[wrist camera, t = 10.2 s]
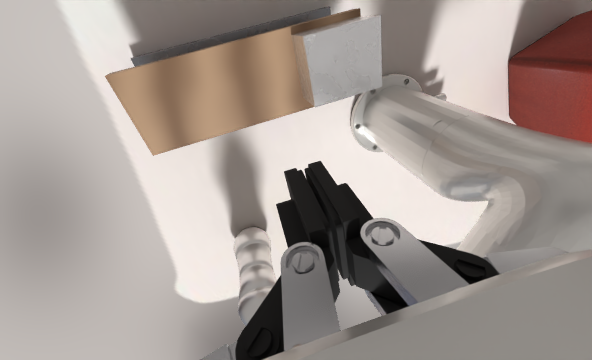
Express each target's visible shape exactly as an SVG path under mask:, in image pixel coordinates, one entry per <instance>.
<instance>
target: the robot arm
mask: <svg viewBox="0 0 592 360" xmlns="http://www.w3.org/2000/svg"><path fill="white" fill-rule="evenodd" d="M370 91H371V92H370ZM370 91H367V92H363V93H361V95H360V96H359V97H358V99H357V101H356V103H355V105H354V108H353V111H352V116H351V129H352V133H353V136H354V138H355V139H356V141H357V142H358V143H359V144H360V145H361V146H362V147H363V148H365V149H367V150H369V151H372V152H385V153H387V154H388V155H389V156H390V157H392V158H393V159H394V160H395V161H397V162H398V163H399V164H401V165H402V166H403V167H404V168H406V169H407V170H408V171H409V172H411V173H412V174H413V175H415V176H416V177H417V178H418V179H420V180H421V181H422V182H423V183H425V184H426V185H427V186H429V187H430V188H431V189H433V190H434V191H435V192H437V193H438V194H440V195H441V196H443V197H446V198H448V199H452V200H456V201H464V202H477V201H489V202H488V205H487V207H486V209H485V210H484V212H483V213H482V215H481V216H480V219H479V220H478V221H477V223H476V224H475V225H474V227H473V228H472V229H471V230H470V232H469V233H468V234H467V236H466V237H465V238H464V240H463V241H462V242H461V244H460V245H459V246H458V248H457V249H452V248H449V247H445V246H441V245H437V244H433V243H429V242H426V241H422V240H418V239H416V238H415V237H414V236H413V235H412V234H410V233H409V232H408V231H407V230H406V229H405V228H404V227H402V226H401V225H400V224H399V223H397V222H395V221H393V220H390V219H386V218H375V219H373V217H372V216H371V215H370V213H369V212H368V211H367V209H366V208H365V207H364V205H363V204H362V203H361V201H360V200H359V199H358V198H357V196H356V195H355V194H354V192H353V191H352V190H351V188H350V187H349V186H348V185H347V184H346V183H344V184H341V185H337V184H336V183H335V181H334V180H333V178H332V177H331V175H330V174H329V172H328V171H327V170H326V168H325V167H324V165H323V164H322V162H321V161H318V162H315V163H311V164H308V168H306V169H305V174H306V178H305V176H304V174H303V172H302V170H299V171H297V169H296V168H294V169H291V170H287V171H284V174H285V178H286V181H287V185H288V189H289V193H290V197H291V200H288V201H285V202H282V203H278V204H276V206H277V209H278V213H279V217H280V220H281V224H282V228H283V231H284V235H285V238H286V242H287V246H288V249H287V250H286V251H285V252H284V254H283V256H282V258H281V276H280V277H279V279H278V280H277V282H276V283H275V285H274V286H273V287H272V289H271V290H270V292H269V293H268V295H267V296H266V298H265V299H264V301H263V302H262V303H261V305H260V306H259V308H258V309H257V311H256V312H255V314H254V315H253V317H252V318H251V319H250V321H249V322H248V324H247V325H246V327H245V328H244V330H243V331H242V333H241V335H240V337H239V338H238V340H237V341H236V342H234V343H233V344H231V345H230V346H228V345H227V344H225V345H224V346H222V347H220V348H219V349H217V350H215V351H214V352H212V353H211V354H209V355H207V356H206V357H204V358H202V359H201V360H592V143H589V142H584V141H579V140H574V139H569V138H564V137H559V136H555V135H551V134H546V133H542V132H538V131H534V130H531V129H527V128H524V127H521V126H518V125H514V124H511V123H508V122H504V121H501V120H498V119H496V118H493V117H490V116H487V115H484V114H481V113H478V112H475V111H472V110H469V109H466V108H463V107H461V106H458V105H455V104H452V103H449V102H446V95H445V94H444V93H442V94H439V95H435V96H431V95H428V94H426V93H423V90H422V88H421V86H420V84H419V83H418V82H417V81H416V80H415V79H413V78H411V77H409V76H406V75H402V74H389V75H386V76H382V87H380V88H376V89H373V90H370ZM337 268H338V269H337ZM338 270H339V272H340V274H341V276H342V278H343V279H346V278H348V281H349V283H350V285H351V286H353V285H356V286H358V287H360V288H362V289H365V292H366V294H367V296H368V298H369V299H370V300H371V302H372V303H373V304H374V306H375V307H376V309H377V310H378V312H379V313H380V314H381V317H378V318H375V319H373V320H370V321H367V322H364V323H361V324H359V325H356V326H353V327H350V328H347V329H345V330H342V331H341V330H340V326H339V321H338V317H337V312H336V308H335V301H336V299H337V297H338V295H339V293H340V289H339V283H338V281H339V275H338Z"/></svg>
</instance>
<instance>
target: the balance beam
mask: <svg viewBox="0 0 592 360" xmlns="http://www.w3.org/2000/svg"><path fill="white" fill-rule="evenodd" d="M359 16H361V15H360V9H352V10H348V11H345V12H341V13H337V14H333V15H329V16H326V17H322V18H318V19H314V20H310V21H307V22H303V23H299V24H295V25H291V26H288V27H284V28H280V29H276V30H273V31H269V32H265V33H261V34H257V35H254V36H250V37H246V38H242V39H238V40H235V41H231V42H227V43H223V44H219V45H216V46H212V47H208V48H204V49H200V50H197V51H193V52H189V53H185V54H182V55H178V56H174V57H170V58H166V59H163V60H159V61H155V62H151V63H147V64H144V65H140V66H136V67H132V68H128V69H125V70H121V71H117V72H113V73H110V74H108V75H106V76H105V77H106V79H107V81H108V82H109V84H110V85H111V87H112V89H113V90H114V92H115V94H116V95H117V97H118V99H119V100H120V102H121V104H122V105H123V107H124V109H125V110H126V112H127V113H128V115H129V117H130V118H131V120H132V122H133V123H134V125H135V127H136V128H137V130H138V132H139V133H140V135H141V137H142V138H143V140H144V142H145V143H146V145H147V146H148V148H149V150H150V151H151V153H152V155H153V156H154V155H157V154H160V153H163V152H167V151H170V150H173V149H177V148H180V147H183V146H187V145H190V144H193V143H196V142H200V141H203V140H206V139H210V138H213V137H216V136H220V135H223V134H226V133H229V132H233V131H236V130H239V129H243V128H246V127H249V126H253V125H256V124H259V123H262V122H266V121H269V120H272V119H276V118H279V117H282V116H286V115H289V114H292V113H295V112H299V111H302V110H305V109H309V108H312V107H314V106H313V105H312V104H311V103H309V102H308V101H307V100H306V99H305V98H303V93H302V88H301V83H300V78H299V73H298V68H297V63H296V58H295V53H294V47H293V42H292V37H291V35H293V34H296V33H300V32H304V31H307V30H311V29H315V28H318V27H322V26H326V25H329V24H333V23H337V22H340V21H344V20H348V19H351V18H355V17H359Z"/></svg>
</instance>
